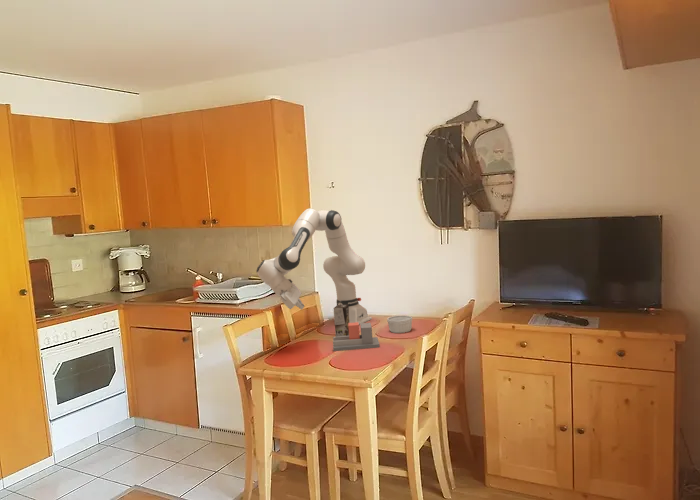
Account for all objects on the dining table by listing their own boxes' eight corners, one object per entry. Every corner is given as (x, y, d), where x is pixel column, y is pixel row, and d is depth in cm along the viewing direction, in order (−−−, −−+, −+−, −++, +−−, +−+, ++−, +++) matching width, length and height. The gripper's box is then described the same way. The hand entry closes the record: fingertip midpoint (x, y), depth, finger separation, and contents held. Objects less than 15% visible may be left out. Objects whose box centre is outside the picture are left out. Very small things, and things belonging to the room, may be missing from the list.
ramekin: (409, 334, 284) (409, 320, 283) (385, 333, 288) (384, 320, 288) (415, 327, 296) (414, 315, 296) (391, 327, 301) (390, 315, 300)
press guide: (333, 351, 262) (331, 331, 261) (333, 343, 276) (332, 324, 275) (379, 347, 263) (378, 327, 262) (377, 340, 277) (376, 321, 276)
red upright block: (349, 344, 266) (348, 325, 265) (349, 340, 272) (348, 323, 271) (360, 343, 266) (358, 324, 265) (359, 340, 272) (358, 322, 271)
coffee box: (347, 338, 284) (345, 307, 283) (335, 338, 286) (332, 308, 284) (351, 334, 293) (348, 304, 292) (339, 334, 295) (336, 304, 293)
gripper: (283, 290, 259) (304, 310, 260) (291, 278, 279) (310, 297, 280) (274, 298, 260) (295, 319, 262) (282, 286, 280) (301, 305, 281)
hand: (303, 307), depth 271 cm, fingers closed
